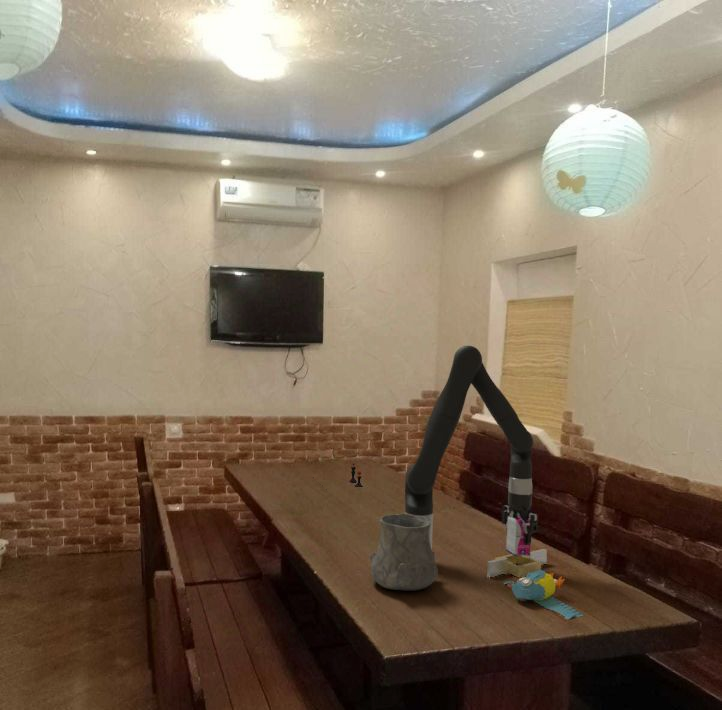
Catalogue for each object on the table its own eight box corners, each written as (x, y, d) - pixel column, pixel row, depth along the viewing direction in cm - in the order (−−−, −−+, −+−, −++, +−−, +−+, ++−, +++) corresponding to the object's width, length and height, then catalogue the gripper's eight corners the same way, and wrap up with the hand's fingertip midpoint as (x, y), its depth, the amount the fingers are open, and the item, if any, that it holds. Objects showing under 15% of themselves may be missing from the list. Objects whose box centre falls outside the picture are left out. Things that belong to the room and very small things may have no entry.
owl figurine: (594, 584, 176) (552, 594, 170) (593, 615, 177) (552, 626, 170) (525, 553, 201) (486, 560, 195) (524, 580, 202) (486, 588, 195)
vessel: (392, 566, 210) (394, 505, 209) (450, 584, 196) (452, 519, 195) (349, 584, 193) (351, 518, 192) (409, 605, 179) (412, 534, 178)
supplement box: (514, 556, 206) (515, 521, 205) (505, 550, 211) (506, 516, 211) (530, 555, 207) (531, 520, 207) (521, 549, 213) (522, 515, 213)
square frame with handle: (500, 583, 198) (500, 567, 198) (476, 572, 206) (477, 557, 206) (557, 568, 212) (557, 553, 212) (533, 559, 221) (533, 544, 221)
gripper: (495, 487, 213) (494, 537, 213) (529, 496, 201) (527, 549, 201) (511, 485, 217) (510, 534, 217) (545, 494, 205) (543, 545, 205)
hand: (518, 541), depth 209 cm, fingers closed on supplement box, 6 cm apart
